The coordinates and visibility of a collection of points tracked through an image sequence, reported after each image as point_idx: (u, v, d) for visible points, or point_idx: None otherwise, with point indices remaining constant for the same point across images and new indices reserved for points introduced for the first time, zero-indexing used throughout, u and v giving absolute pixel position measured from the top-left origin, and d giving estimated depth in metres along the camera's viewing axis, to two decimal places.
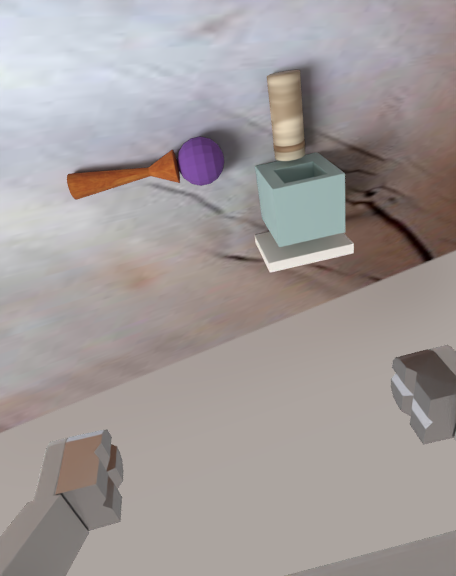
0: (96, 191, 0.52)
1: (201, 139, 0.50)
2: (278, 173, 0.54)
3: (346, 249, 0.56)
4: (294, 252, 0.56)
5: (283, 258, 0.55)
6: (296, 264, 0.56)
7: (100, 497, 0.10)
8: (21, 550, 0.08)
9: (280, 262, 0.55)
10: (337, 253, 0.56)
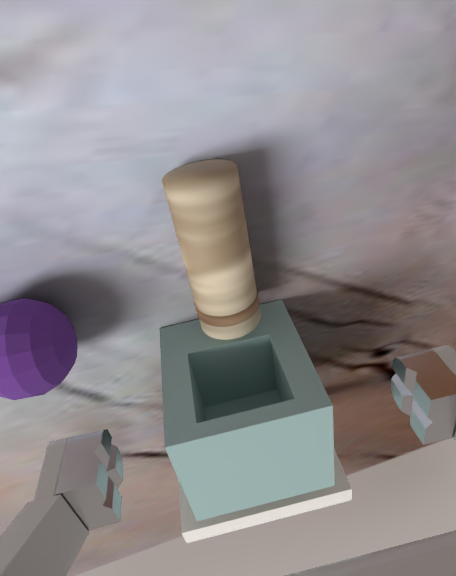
0: None
1: (10, 316, 0.22)
2: (199, 357, 0.27)
3: (337, 497, 0.28)
4: None
5: (212, 518, 0.28)
6: (239, 527, 0.28)
7: (99, 497, 0.10)
8: (20, 550, 0.08)
9: (205, 529, 0.28)
10: (320, 504, 0.28)
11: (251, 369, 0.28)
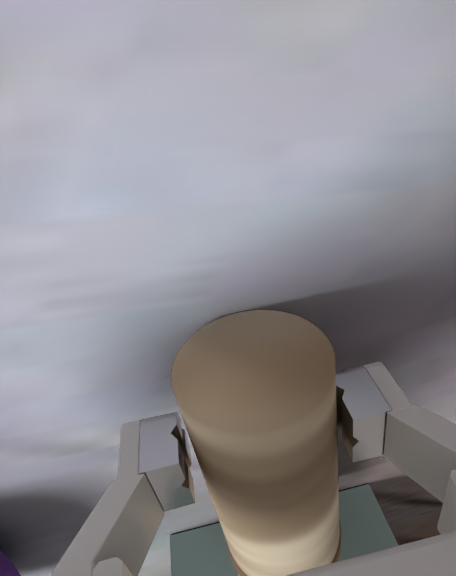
0: None
1: None
2: None
3: None
4: None
5: None
6: None
7: (180, 477, 0.10)
8: (114, 526, 0.08)
9: None
10: None
11: None
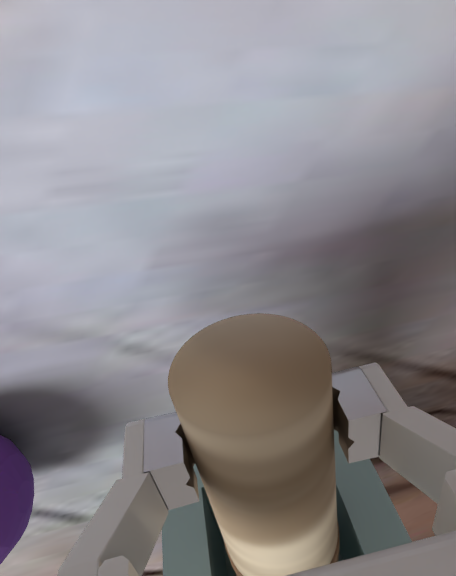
0: None
1: None
2: None
3: None
4: None
5: None
6: None
7: (184, 476, 0.10)
8: (120, 525, 0.08)
9: None
10: None
11: None
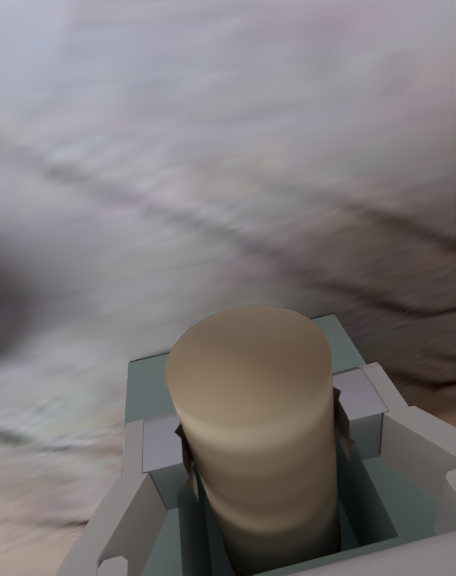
0: None
1: None
2: None
3: None
4: None
5: None
6: None
7: (183, 476, 0.10)
8: (119, 526, 0.08)
9: None
10: None
11: None
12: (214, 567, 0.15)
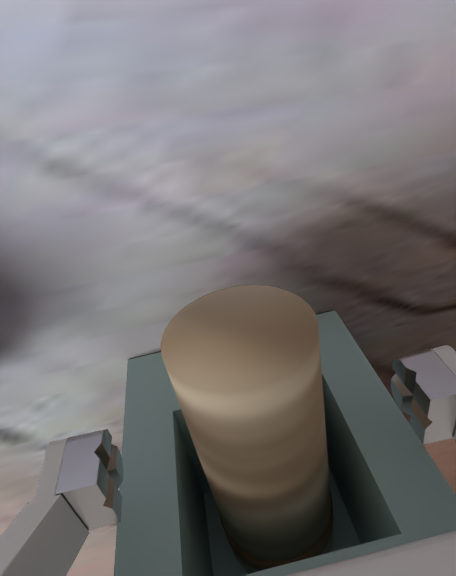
0: None
1: None
2: None
3: None
4: None
5: None
6: None
7: (100, 497, 0.10)
8: (21, 550, 0.08)
9: None
10: None
11: None
12: (214, 565, 0.15)
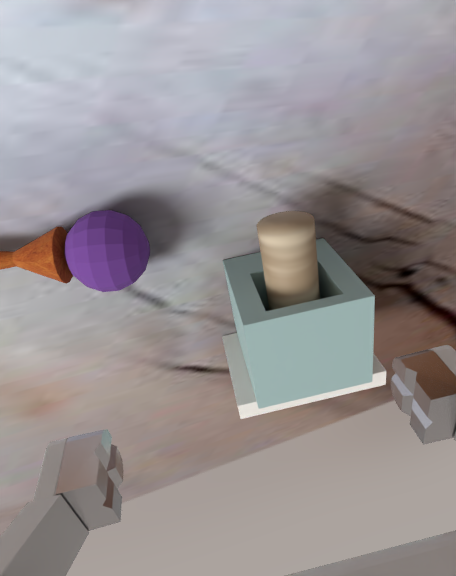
0: None
1: (107, 217, 0.28)
2: (258, 278, 0.33)
3: (373, 379, 0.32)
4: None
5: None
6: (286, 405, 0.32)
7: (100, 497, 0.10)
8: (21, 550, 0.08)
9: None
10: (358, 386, 0.32)
11: None
12: None
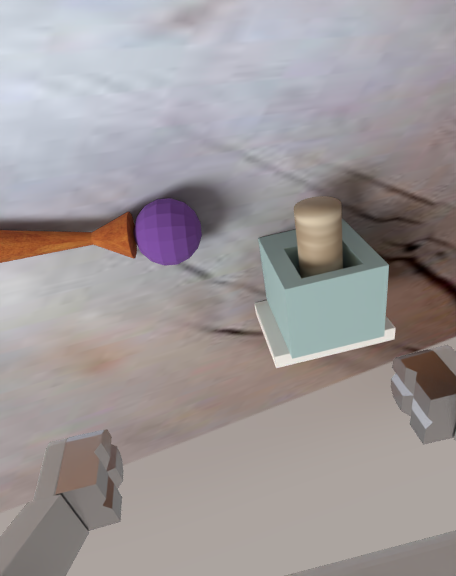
0: (10, 259, 0.36)
1: (171, 204, 0.35)
2: (290, 252, 0.39)
3: (384, 335, 0.39)
4: None
5: None
6: (313, 356, 0.39)
7: (99, 497, 0.10)
8: (21, 550, 0.08)
9: None
10: (372, 340, 0.39)
11: None
12: None
